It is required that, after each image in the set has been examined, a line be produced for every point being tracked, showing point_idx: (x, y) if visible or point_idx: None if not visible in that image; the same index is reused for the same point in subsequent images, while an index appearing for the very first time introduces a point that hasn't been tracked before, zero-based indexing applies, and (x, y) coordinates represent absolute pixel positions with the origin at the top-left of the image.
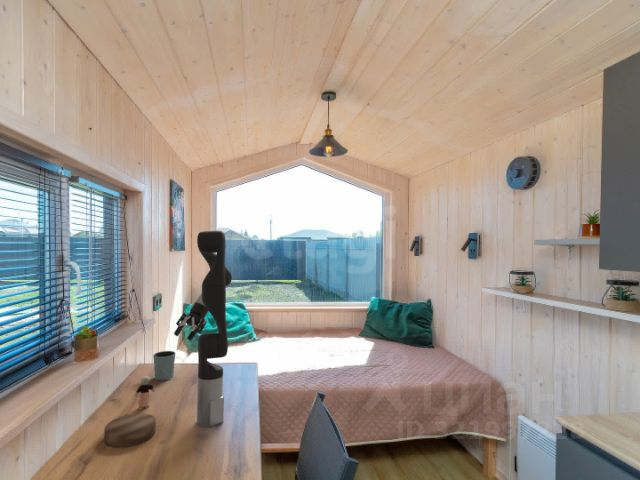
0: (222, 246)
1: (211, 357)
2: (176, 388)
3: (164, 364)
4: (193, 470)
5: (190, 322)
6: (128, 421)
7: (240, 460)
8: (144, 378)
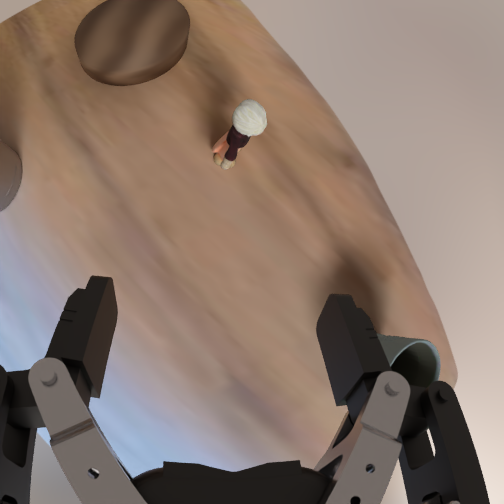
0: None
1: None
2: (254, 319)
3: None
4: None
5: (215, 501)
6: (146, 29)
7: None
8: (243, 101)
